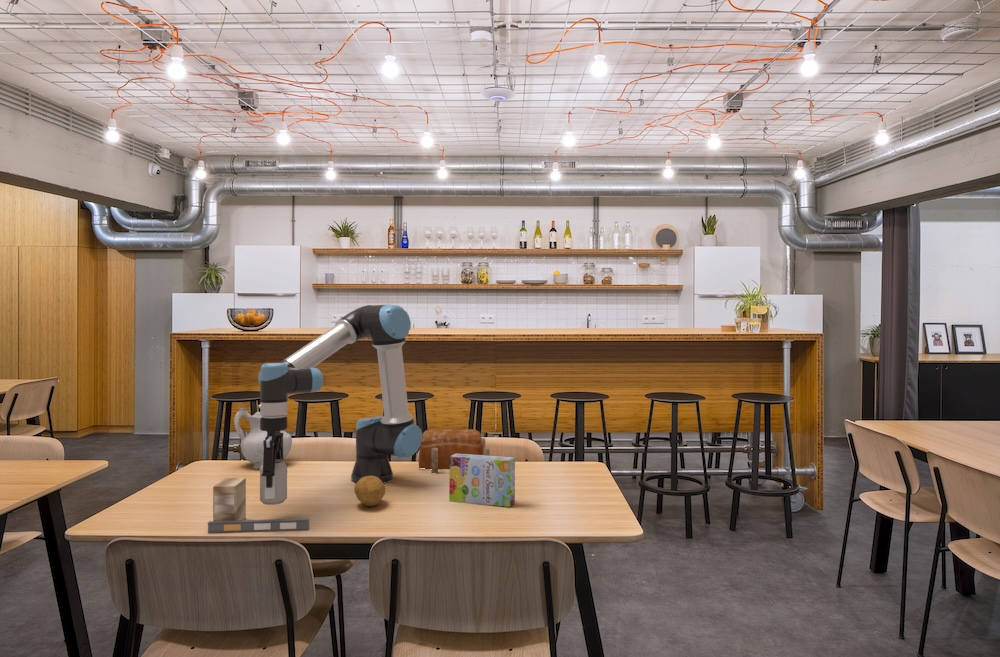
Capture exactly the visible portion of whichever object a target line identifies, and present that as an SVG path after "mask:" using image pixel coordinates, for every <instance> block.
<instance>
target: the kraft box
mask: <svg viewBox="0 0 1000 657" xmlns="http://www.w3.org/2000/svg"><path fill="white" fill-rule="evenodd" d="M246 479H247V478H246V477H227V478H226V477H225V478H223V479H221V480H220V481H219V482H217V483H216V484H215V485H214V486H213V488H212V521H234V520H246V516H247V514H246V512H247V510H246V508H247V506H246V505H247V502H246V500H247V499H246V498H247V495H246V493H247V492H246V491H247V490H246V489H247V488H246V487H247V485H246V484H247V482H246Z"/></svg>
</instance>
